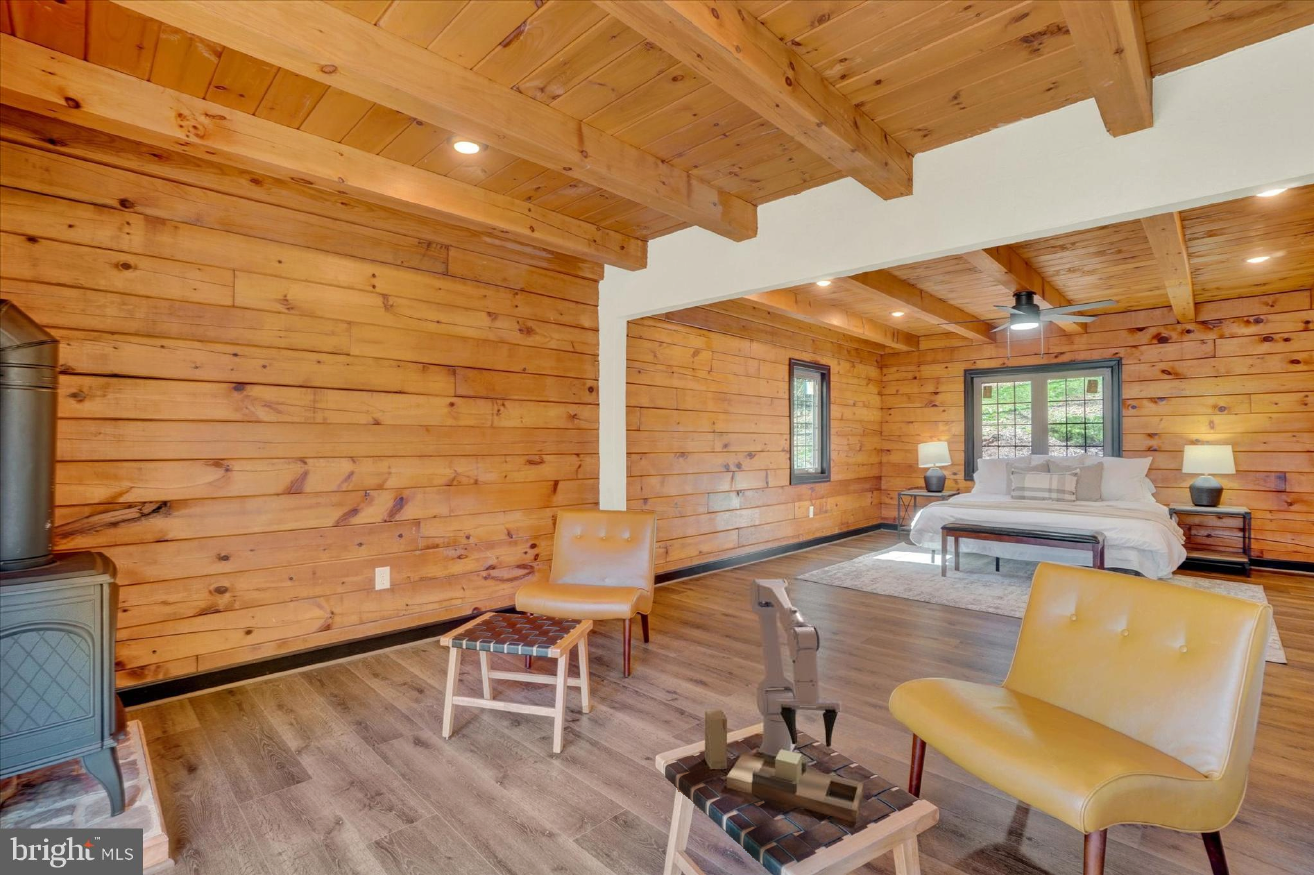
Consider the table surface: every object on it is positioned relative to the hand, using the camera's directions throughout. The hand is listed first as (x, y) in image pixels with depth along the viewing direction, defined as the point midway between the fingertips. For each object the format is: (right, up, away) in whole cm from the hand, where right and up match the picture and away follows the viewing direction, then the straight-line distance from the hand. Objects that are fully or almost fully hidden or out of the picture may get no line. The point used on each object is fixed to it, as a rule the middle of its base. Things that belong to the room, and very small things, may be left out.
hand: (811, 744), depth 138 cm
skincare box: (-20, -12, +15) cm, 28 cm away
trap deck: (-3, -12, +3) cm, 13 cm away
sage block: (-5, -10, +4) cm, 11 cm away
